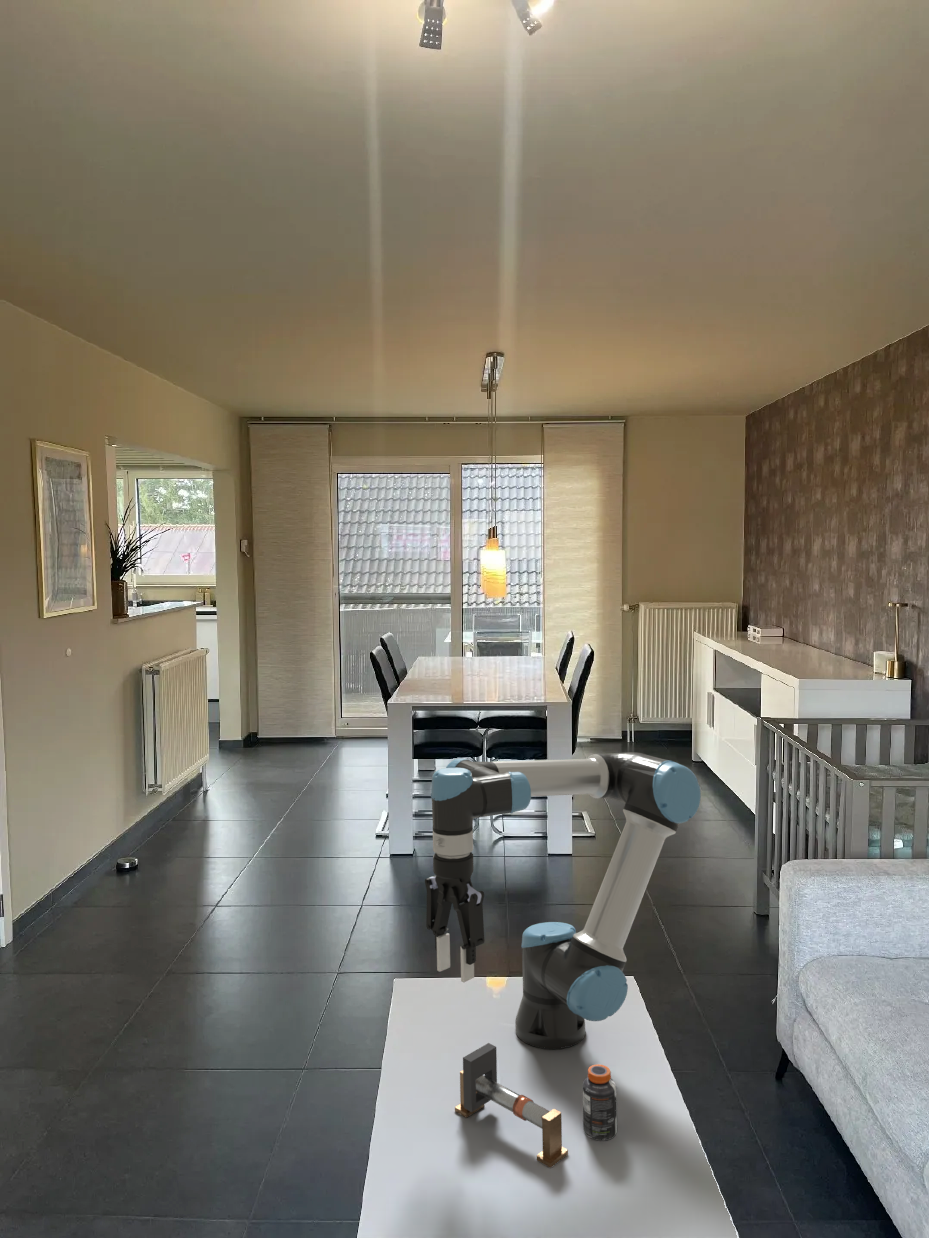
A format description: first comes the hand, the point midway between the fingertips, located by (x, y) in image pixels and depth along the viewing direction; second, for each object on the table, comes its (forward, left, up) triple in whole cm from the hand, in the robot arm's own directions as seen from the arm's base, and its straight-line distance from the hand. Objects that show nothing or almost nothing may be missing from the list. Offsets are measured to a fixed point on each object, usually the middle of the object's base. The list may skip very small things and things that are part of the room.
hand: (455, 973), depth 165 cm
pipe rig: (-6, +12, -25) cm, 28 cm away
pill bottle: (-21, +17, -25) cm, 37 cm away
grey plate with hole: (-3, +5, -22) cm, 23 cm away
